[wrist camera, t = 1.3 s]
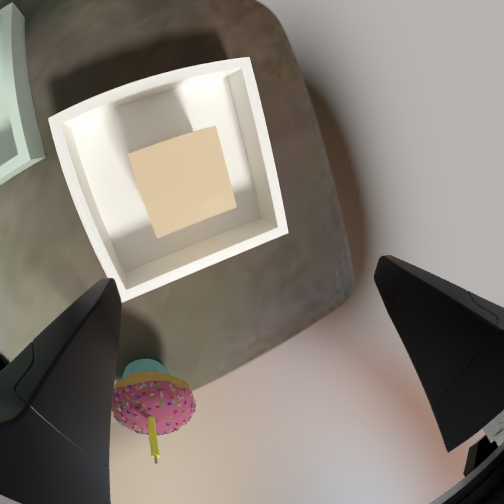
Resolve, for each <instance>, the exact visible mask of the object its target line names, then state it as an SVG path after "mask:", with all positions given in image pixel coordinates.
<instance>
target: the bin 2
mask: <svg viewBox="0 0 504 504" xmlns="http://www.w3.org/2000/svg"><path fill="white" fill-rule="evenodd" d="M48 120H49V124H50V128H51V132H52V136H53V140H54V143H55V147H56V150H57V154H58V157H59V160H60V164H61V167H62V170H63V173H64V176H65V179H66V182H67V185H68V187H69V190H70V193H71V196H72V198H73V201H74V204H75V206H76V209H77V211H78V214H79V216H80V219H81V221H82V223H83V226H84V228H85V230H86V233H87V235H88V237H89V240H90V242H91V244H92V246H93V248H94V250H95V253H96V255H97V257H98V259H99V261H100V263H101V265H102V267H103V269H104V271H105V273H106V275H107V277H108V278H113V279H114V280H115V282H116V285H117V288H118V291H119V294H120V297H121V303H122V302H125V301H127V300H129V299H132V298H134V297H136V296H139V295H141V294H143V293H146V292H148V291H151V290H153V289H155V288H158V287H160V286H162V285H165V284H167V283H170V282H172V281H174V280H177V279H179V278H181V277H184V276H186V275H189V274H191V273H193V272H196V271H198V270H201V269H203V268H205V267H208V266H210V265H213V264H215V263H217V262H220V261H222V260H224V259H227V258H229V257H232V256H234V255H236V254H239V253H241V252H244V251H246V250H248V249H251V248H253V247H256V246H258V245H260V244H263V243H265V242H268V241H270V240H272V239H275V238H277V237H280V236H282V235H284V234H287V233H288V228H287V223H286V218H285V212H284V207H283V202H282V197H281V192H280V187H279V182H278V177H277V172H276V168H275V163H274V158H273V154H272V149H271V144H270V140H269V135H268V131H267V127H266V122H265V118H264V114H263V109H262V105H261V101H260V97H259V93H258V89H257V85H256V81H255V77H254V73H253V69H252V65H251V61H250V58H249V57H245V58H237V59H230V60H223V61H217V62H211V63H206V64H200V65H195V66H191V67H186V68H182V69H178V70H173V71H169V72H166V73H162V74H158V75H155V76H151V77H148V78H144V79H141V80H138V81H135V82H132V83H129V84H126V85H123V86H120V87H117V88H115V89H112V90H109V91H107V92H104V93H102V94H99V95H97V96H94V97H92V98H90V99H87V100H85V101H83V102H80V103H78V104H76V105H74V106H72V107H70V108H67V109H65V110H63V111H61V112H59V113H57V114H55V115H54V116H52V117H50V118H48ZM212 126H216V128H217V132H218V136H219V140H220V144H221V148H222V152H223V155H224V159H225V163H226V167H227V171H228V175H229V178H230V182H231V186H232V190H233V194H234V197H235V201H236V205H237V208H234V209H231V210H229V211H226V212H223V213H221V214H218V215H215V216H213V217H210V218H207V219H205V220H202V221H200V222H197V223H195V224H192V225H189V226H187V227H184V228H182V229H179V230H177V231H174V232H172V233H169V234H167V235H164V236H162V237H160V238H157V237H156V234H155V232H154V229H153V227H152V224H151V221H150V219H149V216H148V213H147V210H146V208H145V205H144V202H143V199H142V197H141V194H140V191H139V188H138V185H137V182H136V179H135V176H134V173H133V170H132V167H131V164H130V161H129V157H128V154H129V153H131V152H133V151H136V150H139V149H141V148H144V147H147V146H149V145H152V144H155V143H158V142H161V141H164V140H167V139H170V138H173V137H176V136H179V135H182V134H185V133H189V132H192V131H196V130H200V129H203V128H207V127H212Z"/></svg>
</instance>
